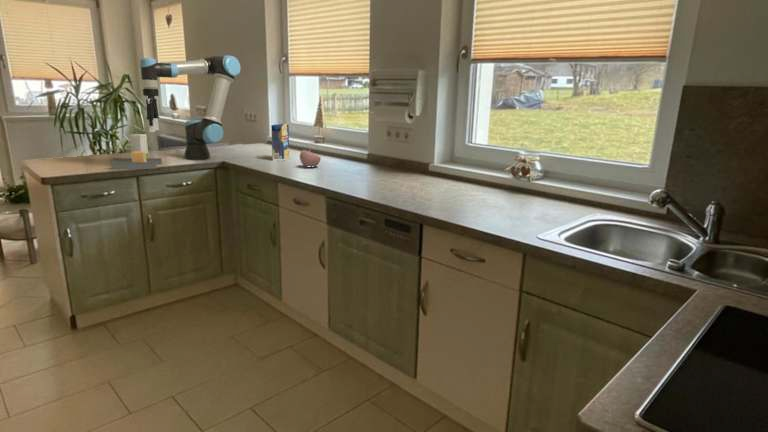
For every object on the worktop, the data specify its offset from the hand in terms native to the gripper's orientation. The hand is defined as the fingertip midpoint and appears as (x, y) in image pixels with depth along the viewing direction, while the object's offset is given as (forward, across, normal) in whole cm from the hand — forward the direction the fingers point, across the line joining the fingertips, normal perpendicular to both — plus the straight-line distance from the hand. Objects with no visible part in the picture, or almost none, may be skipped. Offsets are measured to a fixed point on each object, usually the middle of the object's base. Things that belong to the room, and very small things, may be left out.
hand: (154, 131), depth 262 cm
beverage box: (+20, -23, +68) cm, 74 cm away
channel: (+19, 0, -10) cm, 22 cm away
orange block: (+19, 0, -9) cm, 21 cm away
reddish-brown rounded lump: (+20, +6, +84) cm, 86 cm away
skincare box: (+20, -19, -13) cm, 30 cm away
